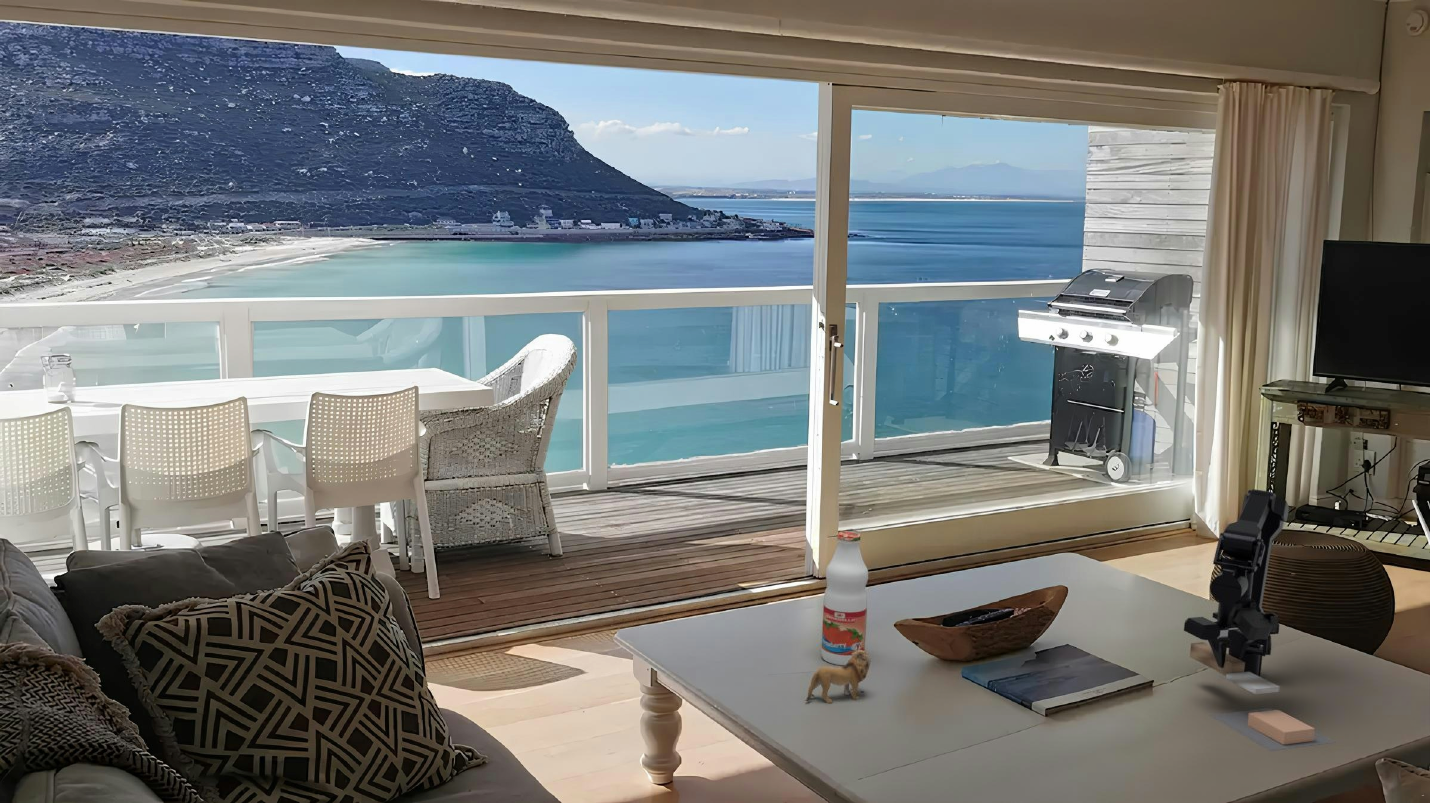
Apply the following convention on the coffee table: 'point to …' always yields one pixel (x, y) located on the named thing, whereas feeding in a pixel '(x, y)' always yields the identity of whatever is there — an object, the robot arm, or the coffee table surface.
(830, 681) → the lion figurine
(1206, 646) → the spatula
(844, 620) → the fruit juice
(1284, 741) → the tile
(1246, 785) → the coffee table surface
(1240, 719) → the mat
